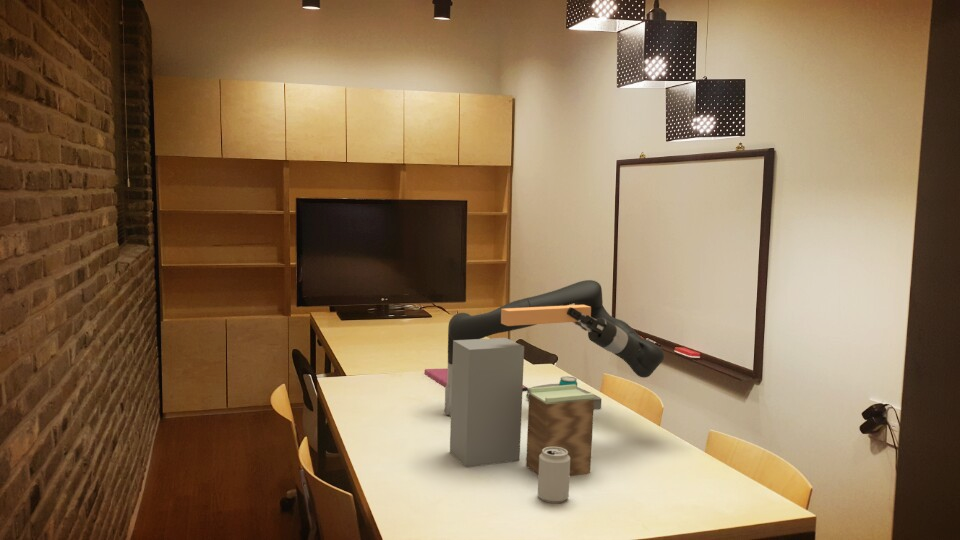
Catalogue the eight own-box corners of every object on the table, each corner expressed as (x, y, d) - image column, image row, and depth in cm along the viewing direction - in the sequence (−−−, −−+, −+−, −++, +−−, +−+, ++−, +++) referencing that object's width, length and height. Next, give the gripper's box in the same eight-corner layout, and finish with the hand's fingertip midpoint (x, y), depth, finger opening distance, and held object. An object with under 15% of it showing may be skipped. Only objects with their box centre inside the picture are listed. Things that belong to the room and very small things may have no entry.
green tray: (546, 404, 187) (547, 398, 187) (529, 393, 196) (529, 388, 196) (594, 399, 193) (594, 394, 193) (574, 389, 202) (574, 384, 202)
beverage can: (574, 427, 232) (577, 381, 230) (556, 426, 233) (558, 379, 231) (576, 422, 238) (578, 377, 236) (558, 420, 239) (560, 375, 237)
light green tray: (557, 416, 244) (558, 402, 244) (521, 399, 263) (522, 385, 263) (602, 409, 254) (603, 395, 253) (565, 393, 273) (565, 380, 272)
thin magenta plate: (423, 365, 293) (484, 361, 305) (423, 375, 293) (484, 371, 305) (466, 390, 257) (533, 385, 269) (466, 401, 257) (533, 395, 270)
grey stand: (465, 467, 196) (469, 349, 192) (449, 452, 207) (453, 340, 203) (519, 460, 202) (524, 346, 199) (501, 446, 213) (505, 337, 210)
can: (535, 491, 182) (537, 444, 181) (564, 491, 183) (567, 444, 181) (540, 504, 174) (542, 455, 173) (571, 504, 175) (573, 455, 174)
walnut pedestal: (543, 479, 190) (546, 404, 187) (526, 465, 199) (529, 393, 196) (590, 473, 195) (594, 399, 193) (571, 459, 204) (574, 389, 202)
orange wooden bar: (507, 325, 196) (507, 311, 195) (500, 323, 200) (501, 308, 199) (590, 320, 206) (591, 306, 206) (582, 318, 210) (583, 304, 210)
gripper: (600, 320, 219) (557, 293, 212) (628, 329, 206) (584, 301, 199) (588, 342, 218) (545, 316, 211) (616, 352, 205) (571, 325, 198)
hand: (564, 309), depth 205 cm, fingers closed on orange wooden bar, 4 cm apart
